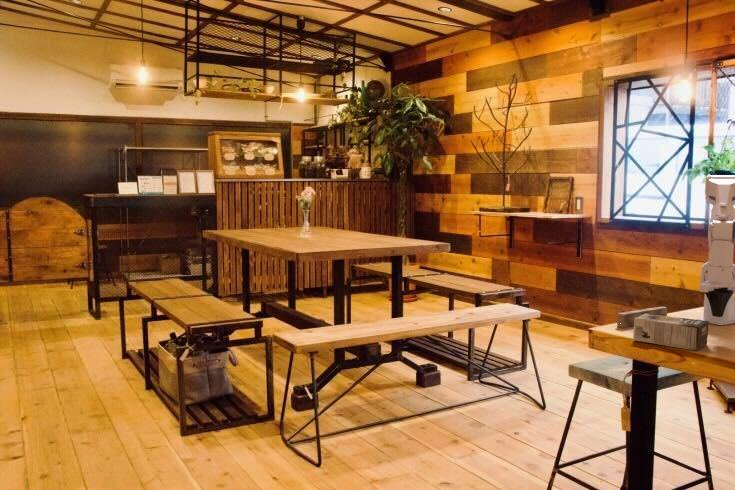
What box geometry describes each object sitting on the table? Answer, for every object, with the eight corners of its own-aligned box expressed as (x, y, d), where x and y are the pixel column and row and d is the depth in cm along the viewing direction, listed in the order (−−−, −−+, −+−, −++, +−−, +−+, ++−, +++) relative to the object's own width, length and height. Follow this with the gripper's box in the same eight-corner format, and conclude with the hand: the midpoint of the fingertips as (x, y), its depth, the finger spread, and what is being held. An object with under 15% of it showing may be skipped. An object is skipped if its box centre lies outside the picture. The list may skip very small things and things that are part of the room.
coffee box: (645, 312, 183) (709, 320, 173) (644, 335, 184) (707, 344, 174) (633, 317, 176) (700, 326, 166) (632, 341, 177) (698, 351, 167)
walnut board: (660, 319, 204) (661, 306, 204) (666, 320, 202) (667, 307, 202) (617, 326, 194) (617, 313, 194) (622, 328, 192) (623, 314, 192)
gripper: (718, 269, 169) (715, 322, 171) (750, 265, 177) (747, 316, 178) (692, 266, 176) (690, 317, 177) (725, 262, 183) (722, 311, 184)
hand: (717, 316), depth 178 cm, fingers closed
